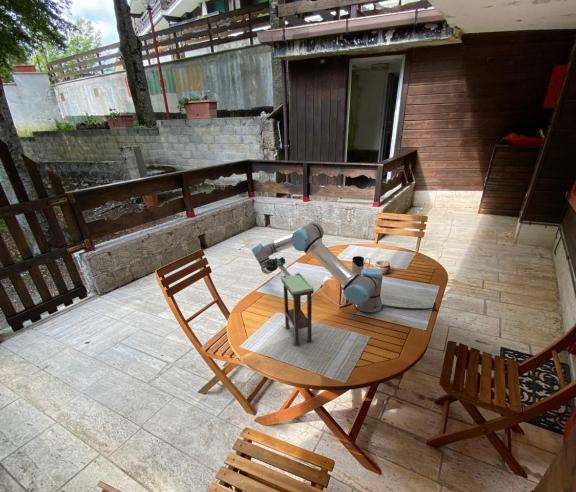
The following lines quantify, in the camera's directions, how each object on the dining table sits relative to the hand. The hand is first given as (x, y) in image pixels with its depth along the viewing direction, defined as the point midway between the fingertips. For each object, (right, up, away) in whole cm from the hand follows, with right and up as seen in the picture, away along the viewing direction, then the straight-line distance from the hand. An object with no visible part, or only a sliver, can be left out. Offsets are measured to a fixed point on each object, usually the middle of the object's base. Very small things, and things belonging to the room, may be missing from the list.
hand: (279, 260), depth 171 cm
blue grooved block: (+1, -5, -2) cm, 5 cm away
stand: (+10, -40, -8) cm, 42 cm away
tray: (+9, -14, -23) cm, 28 cm away
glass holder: (+55, -6, +46) cm, 72 cm away
